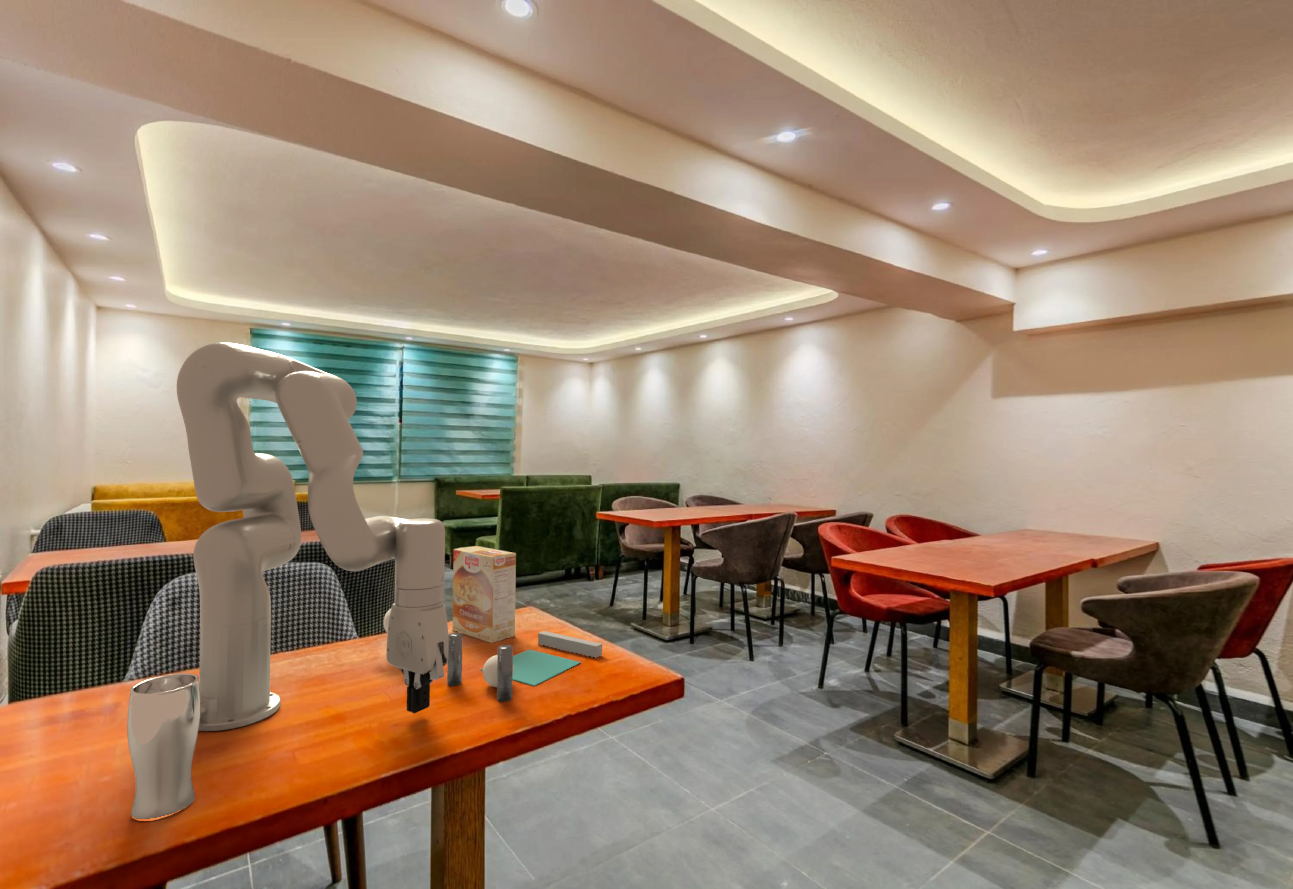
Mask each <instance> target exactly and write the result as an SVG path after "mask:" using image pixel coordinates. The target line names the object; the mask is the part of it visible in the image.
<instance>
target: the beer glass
mask: <svg viewBox="0 0 1293 889" xmlns="http://www.w3.org/2000/svg"><path fill="white" fill-rule="evenodd" d="M199 683H200V676H199V675H198V674H194V673H186V672H182V673H181V672H180V673H171V674H165V675H161V676H160V675H159V676H156V677H152V678H149V679H146V680H143V681H140V682H138V683H136V684H134V685H133V686H131V688H130V689H129V701H128V710H127V718H126V719H127V723H126V731H127V732H126V733H127V734H126V735H127V742H128V749H129V750H128V751H129V755H130V758H131V763H132V768H133V772H134V777H135V792H134V798H133V803H132V807H131V811H130V816H131V815H132V816H133V817H134V818H136V819H150V818H157V817H161V816H165V815H169V814H172V813H175V812H177V811H179V810H182V809H184V808H185V807H187V806H189V805H190V804H191V803H192V802H195V800H196V794H195V788H194V784H193V779H192V765H193V764H192V763H193V760H194V753H195V750H196V744H197V741H198V736H199V725H200V712H201V705H200V689H199ZM192 804H193V803H192ZM192 804H191V805H192ZM191 805H190V806H191ZM190 806H189V807H190ZM187 808H188V807H187ZM184 810H185V809H184Z"/></svg>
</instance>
